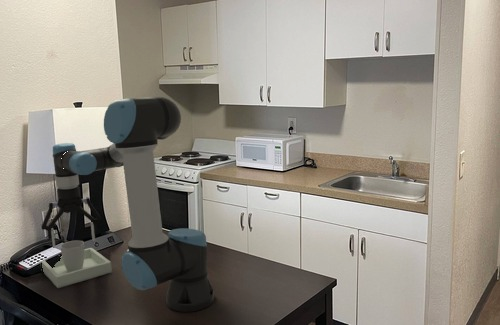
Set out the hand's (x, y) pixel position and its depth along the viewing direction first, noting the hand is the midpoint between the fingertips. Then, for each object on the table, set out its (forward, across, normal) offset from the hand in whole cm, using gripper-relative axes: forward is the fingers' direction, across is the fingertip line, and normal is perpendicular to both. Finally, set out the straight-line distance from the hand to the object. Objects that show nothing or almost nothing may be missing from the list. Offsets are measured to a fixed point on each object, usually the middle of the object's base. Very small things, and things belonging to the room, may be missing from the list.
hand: (74, 243), depth 167 cm
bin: (+11, 0, -1) cm, 11 cm away
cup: (+11, +1, -1) cm, 11 cm away
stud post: (+11, -18, +4) cm, 22 cm away
